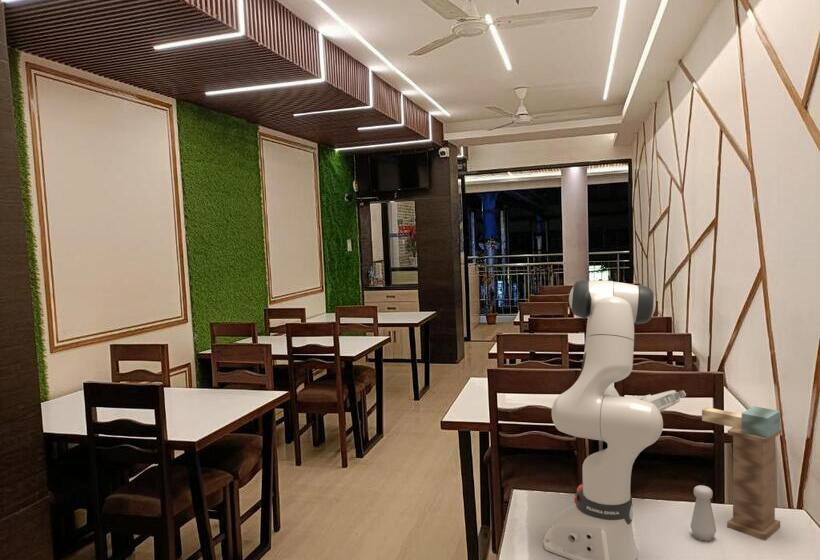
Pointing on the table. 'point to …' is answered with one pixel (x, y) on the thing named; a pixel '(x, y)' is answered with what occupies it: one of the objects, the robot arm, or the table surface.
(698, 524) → the salt shaker
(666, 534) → the table surface
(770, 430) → the mallet
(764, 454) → the pedestal
